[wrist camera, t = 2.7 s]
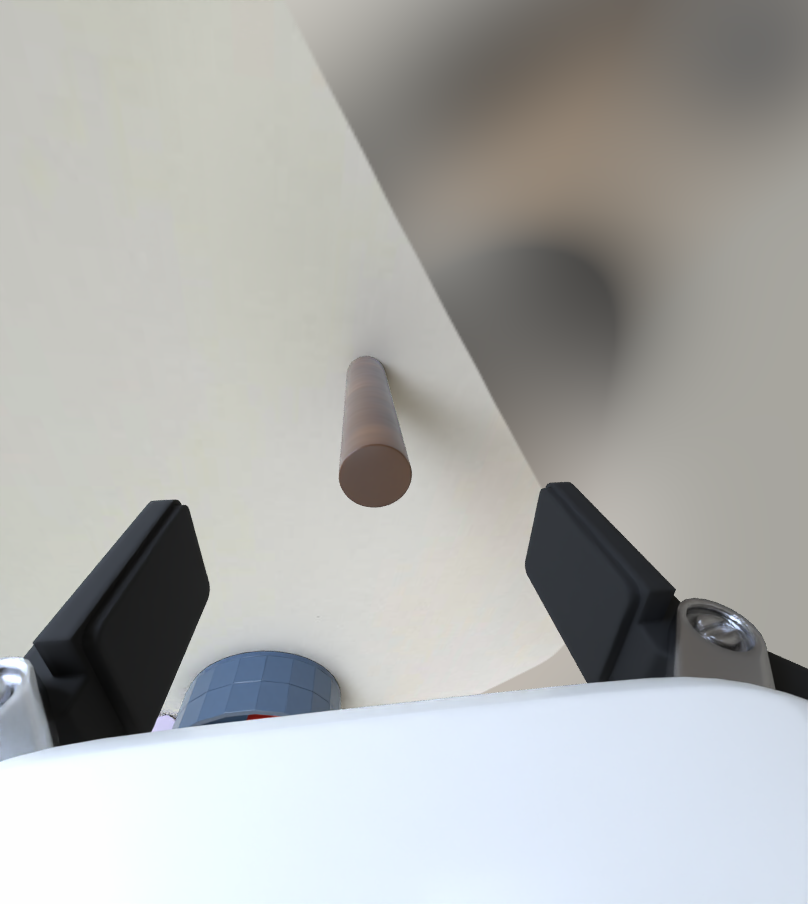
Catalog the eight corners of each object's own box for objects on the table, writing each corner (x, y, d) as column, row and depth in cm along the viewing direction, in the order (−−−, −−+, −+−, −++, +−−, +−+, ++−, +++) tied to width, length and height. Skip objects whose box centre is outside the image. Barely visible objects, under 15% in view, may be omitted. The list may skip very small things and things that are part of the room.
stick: (385, 356, 26) (413, 443, 13) (385, 393, 27) (410, 506, 14) (346, 356, 26) (336, 445, 13) (347, 394, 27) (340, 509, 14)
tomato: (278, 695, 39) (273, 727, 36) (282, 713, 40) (276, 745, 38) (247, 698, 39) (239, 730, 36) (252, 716, 40) (244, 748, 37)
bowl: (336, 644, 37) (334, 702, 33) (344, 735, 44) (342, 794, 39) (170, 658, 36) (141, 721, 31) (204, 750, 42) (184, 814, 37)
